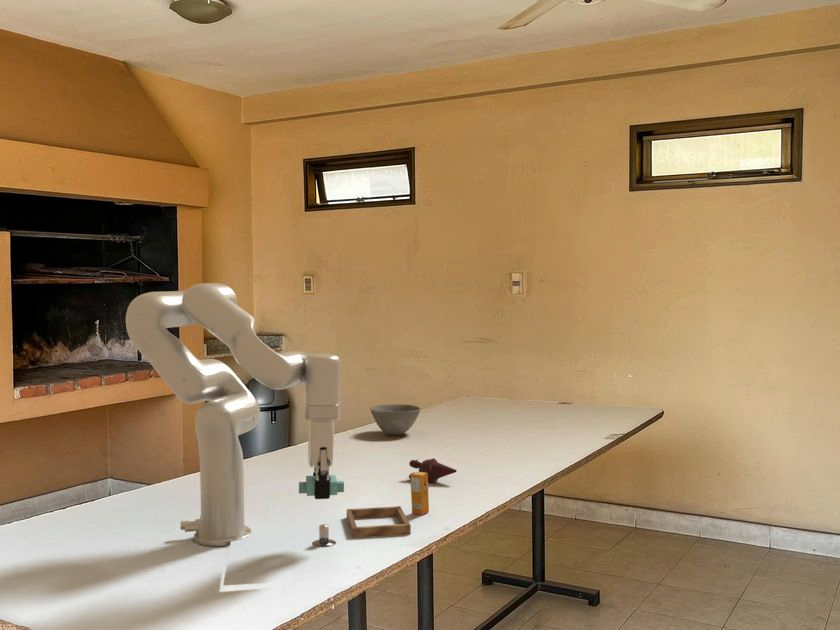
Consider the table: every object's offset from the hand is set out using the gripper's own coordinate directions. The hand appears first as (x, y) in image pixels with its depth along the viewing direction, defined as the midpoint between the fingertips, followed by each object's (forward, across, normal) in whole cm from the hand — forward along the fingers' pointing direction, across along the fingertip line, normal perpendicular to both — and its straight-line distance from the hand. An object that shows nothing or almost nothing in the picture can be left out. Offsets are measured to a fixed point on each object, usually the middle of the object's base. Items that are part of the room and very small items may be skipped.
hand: (321, 493), depth 173 cm
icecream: (+12, -50, +35) cm, 62 cm away
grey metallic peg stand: (+12, 0, +1) cm, 12 cm away
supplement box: (+12, -21, +26) cm, 35 cm away
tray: (+12, -10, +14) cm, 20 cm away
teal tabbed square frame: (0, 0, 0) cm, 0 cm away
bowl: (+13, -120, +35) cm, 125 cm away
